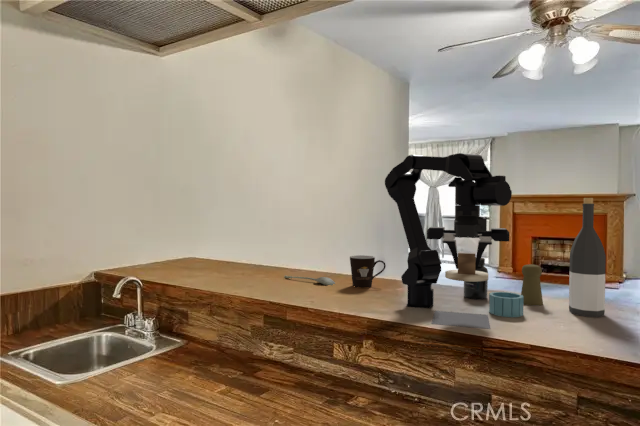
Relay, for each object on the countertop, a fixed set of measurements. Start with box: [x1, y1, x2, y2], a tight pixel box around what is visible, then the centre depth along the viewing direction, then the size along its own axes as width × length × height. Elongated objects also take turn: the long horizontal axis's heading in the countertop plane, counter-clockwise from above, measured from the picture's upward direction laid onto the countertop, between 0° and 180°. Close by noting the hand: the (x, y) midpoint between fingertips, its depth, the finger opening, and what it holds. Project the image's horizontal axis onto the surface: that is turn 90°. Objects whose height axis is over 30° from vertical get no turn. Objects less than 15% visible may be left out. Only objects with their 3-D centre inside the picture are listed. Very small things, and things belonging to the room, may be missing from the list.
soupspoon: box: [283, 275, 336, 286], centre depth 159 cm, size 22×3×7 cm
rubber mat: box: [430, 310, 491, 330], centre depth 108 cm, size 13×13×1 cm
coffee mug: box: [349, 254, 386, 288], centre depth 150 cm, size 12×9×10 cm
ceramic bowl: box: [488, 291, 525, 318], centre depth 114 cm, size 8×8×5 cm
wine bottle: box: [568, 197, 607, 318], centre depth 115 cm, size 8×8×30 cm
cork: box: [520, 263, 544, 306], centre depth 126 cm, size 6×6×11 cm
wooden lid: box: [444, 250, 489, 282], centre depth 108 cm, size 10×10×6 cm
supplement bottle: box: [463, 256, 489, 300], centre depth 134 cm, size 7×7×12 cm
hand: (466, 269), depth 108 cm, fingers closed on wooden lid, 4 cm apart
